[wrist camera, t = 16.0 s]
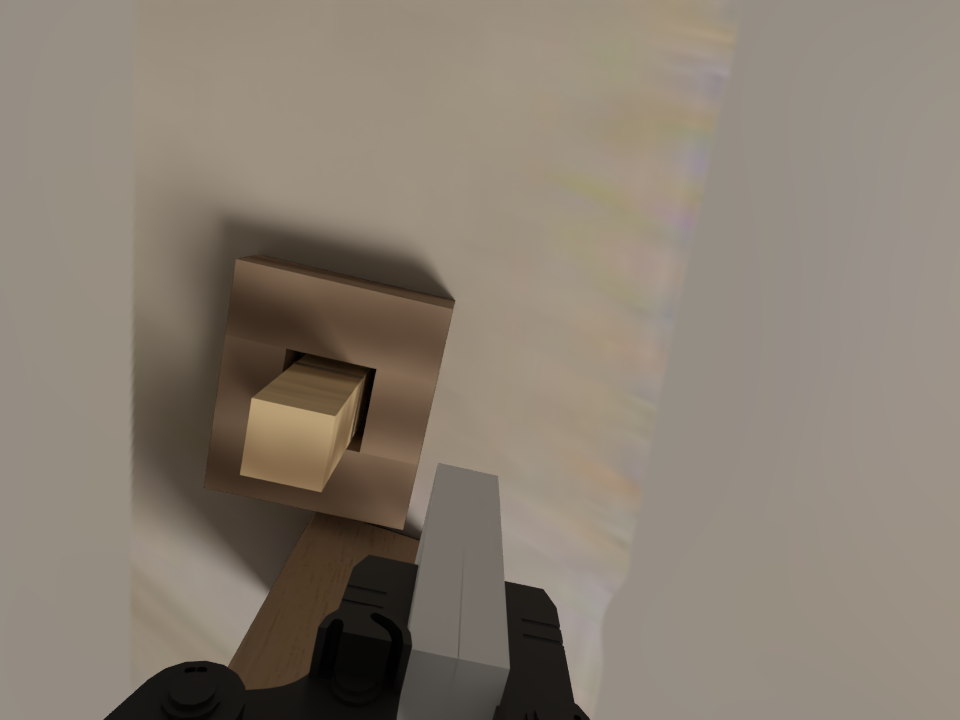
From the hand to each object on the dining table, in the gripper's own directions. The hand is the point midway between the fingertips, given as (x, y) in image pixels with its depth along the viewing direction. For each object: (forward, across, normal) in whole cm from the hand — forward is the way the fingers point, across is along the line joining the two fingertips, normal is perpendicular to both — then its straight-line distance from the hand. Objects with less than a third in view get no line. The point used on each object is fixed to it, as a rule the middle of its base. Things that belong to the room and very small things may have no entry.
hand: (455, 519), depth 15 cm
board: (+29, -8, -7) cm, 31 cm away
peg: (+29, -8, -7) cm, 31 cm away
